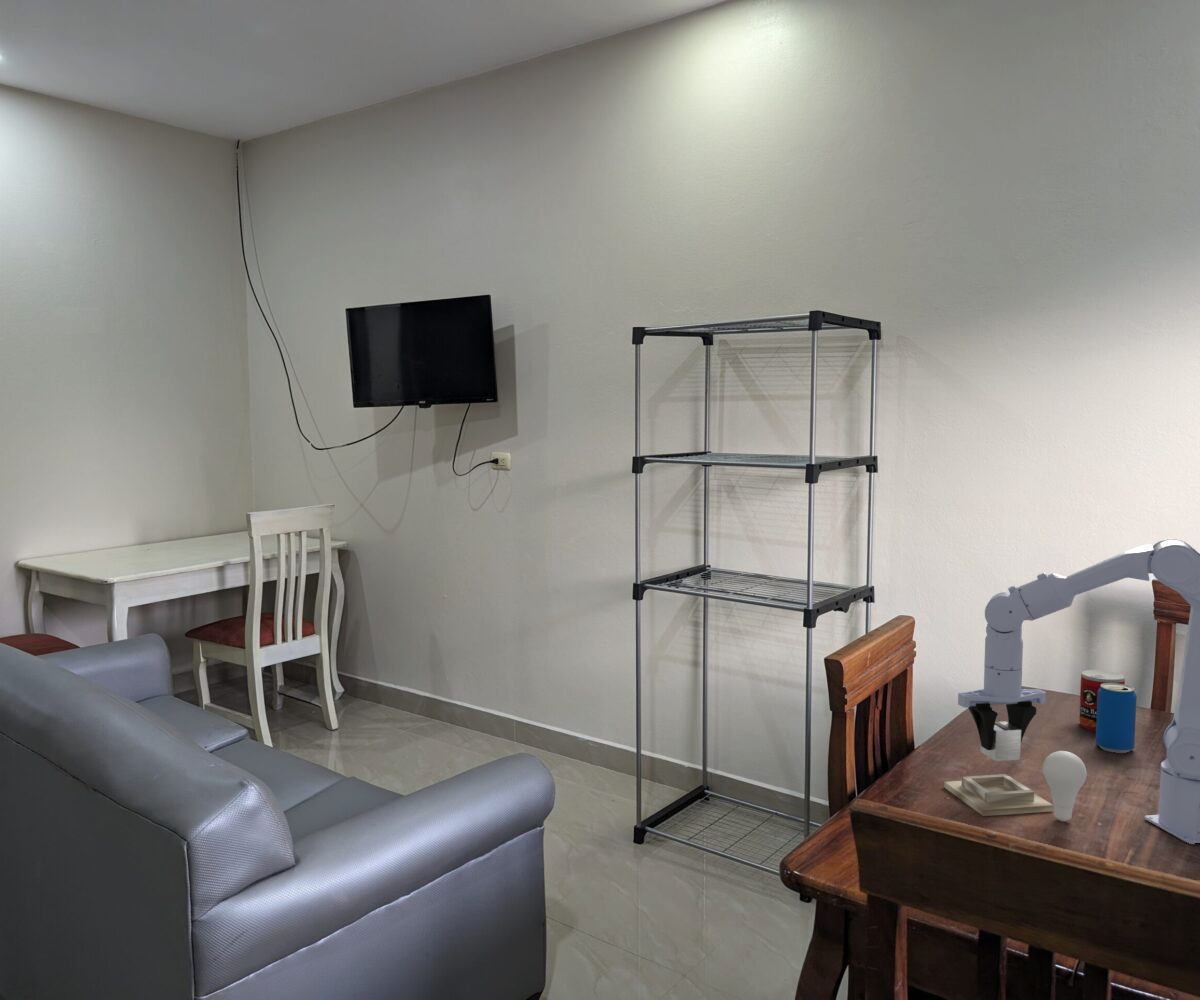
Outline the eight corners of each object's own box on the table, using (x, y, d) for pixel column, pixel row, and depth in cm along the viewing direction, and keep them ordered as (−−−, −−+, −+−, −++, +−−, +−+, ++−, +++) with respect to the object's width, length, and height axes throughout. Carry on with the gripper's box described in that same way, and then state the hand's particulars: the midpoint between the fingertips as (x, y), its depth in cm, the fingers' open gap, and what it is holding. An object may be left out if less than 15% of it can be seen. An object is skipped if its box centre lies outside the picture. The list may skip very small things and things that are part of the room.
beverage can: (1139, 755, 176) (1142, 692, 175) (1101, 753, 177) (1104, 690, 176) (1127, 744, 182) (1130, 683, 181) (1091, 742, 184) (1093, 681, 183)
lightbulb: (1071, 812, 150) (1073, 745, 149) (1092, 828, 144) (1095, 758, 143) (1033, 813, 150) (1036, 745, 149) (1053, 829, 144) (1055, 759, 143)
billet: (1020, 759, 154) (1021, 728, 154) (995, 761, 154) (996, 729, 153) (1004, 750, 159) (1005, 720, 158) (980, 751, 158) (981, 721, 157)
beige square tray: (1052, 811, 151) (1053, 796, 150) (983, 816, 149) (983, 800, 149) (1009, 783, 162) (1009, 769, 162) (944, 787, 161) (944, 773, 160)
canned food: (1070, 724, 194) (1072, 672, 194) (1097, 719, 198) (1099, 667, 197) (1104, 735, 187) (1106, 681, 187) (1131, 730, 191) (1133, 676, 190)
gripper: (1029, 658, 160) (1026, 737, 161) (949, 662, 158) (947, 741, 159) (1055, 669, 153) (1052, 751, 154) (972, 672, 151) (969, 755, 152)
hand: (1000, 747), depth 156 cm, fingers closed on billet, 4 cm apart
